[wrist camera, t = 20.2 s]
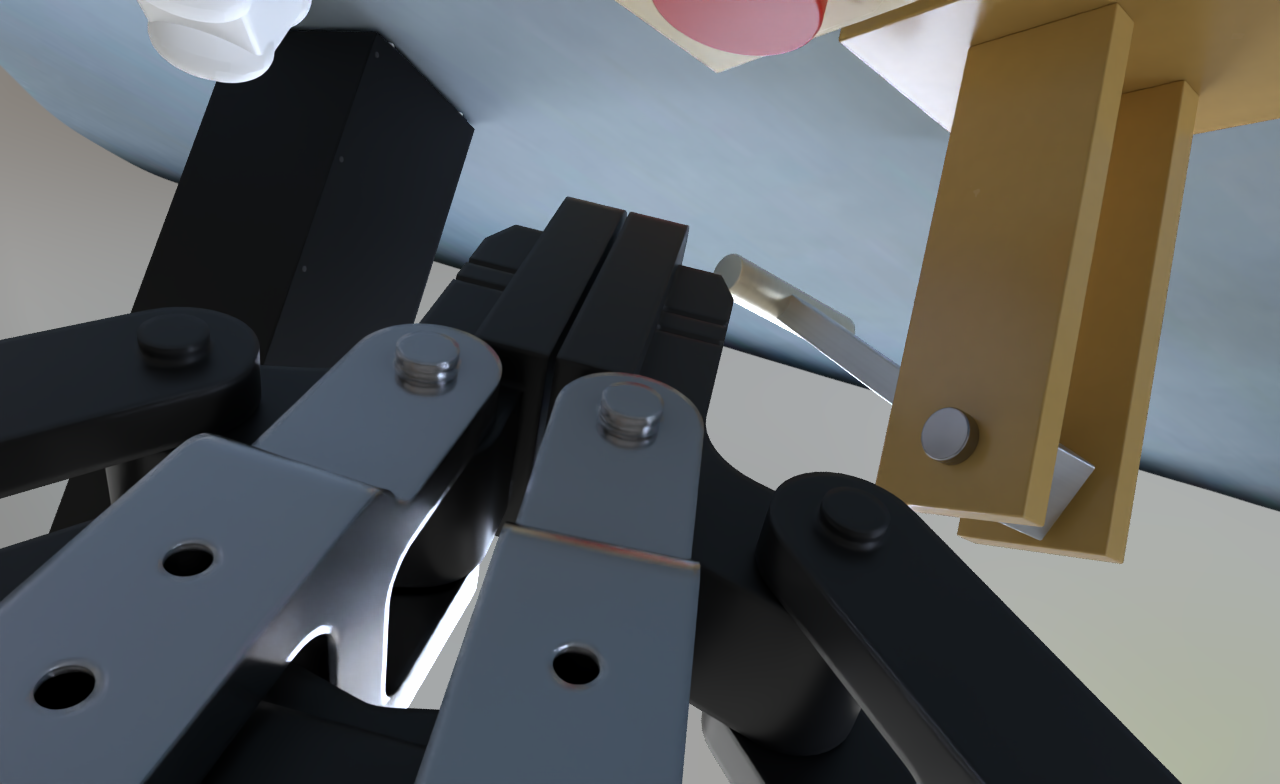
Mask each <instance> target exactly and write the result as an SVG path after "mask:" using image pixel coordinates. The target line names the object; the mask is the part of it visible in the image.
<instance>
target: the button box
mask: <svg viewBox="0 0 1280 784" xmlns="http://www.w3.org/2000/svg"><path fill="white" fill-rule="evenodd" d="M615 1H616V2H618V3H619V4H620V5H622V6H623V7H625V8H626V9H627V10H629V11H630V12H632V13H633V14H634V15H636V16H637V17H639V18H640V19H641V20H643V21H644V22H646V23H647V24H648V25H650V26H651V27H653V28H654V29H656V30H657V31H658V32H660V33H661V34H663V35H664V36H665V37H667V38H668V39H670V40H671V41H672V42H674V43H675V44H677V45H678V46H679V47H681V48H682V49H684V50H685V51H686V52H688V53H689V54H691V55H692V56H693V57H695V58H696V59H698V60H699V61H700V62H702V63H703V64H705V65H706V66H707V67H709V68H710V69H712V70H713V71H714V72H716V73H719V72H722V71H725V70H728V69H730V68H733V67H736V66H739V65H741V64H744V63H747V62H750V61H753V60H755V59H758V58H761V57H764V56H748V55H739V54H733V53H729V52H724V51H721V50H717V49H714V48H711V47H709V46H706V45H703V44H701V43H699V42H697V41H695V40H693V39H691V38H689V37H687V36H686V35H684V34H683V33H681V32H680V31H678V30H677V29H675V28H674V27H673V26H672V25H670V24H669V23H668V22H667V21H666V20H665V19H664V18H663V16H662V15H661V14H660V13H659V12H658V10H657V8H656V7H655V5H654V3H653V1H652V0H615ZM915 1H918V0H828V2H827V6H826V10H825V14H824V18H823V22H822V25H821V27H820V29H819V31H818V32H817V34H816V35H815V36H814V37H813V38H816V37H819V36H821V35H824V34H827V33H830V32H833V31H835V30H838V29H841V28H844V27H846V26H849V25H852V24H855V23H857V22H860V21H863V20H866V19H868V18H871V17H874V16H877V15H879V14H882V13H885V12H888V11H890V10H893V9H896V8H899V7H902V6H904V5H907V4H910V3H913V2H915Z"/></svg>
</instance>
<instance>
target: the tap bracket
mask: <svg viewBox="0 0 1280 784" xmlns="http://www.w3.org/2000/svg"><path fill="white" fill-rule="evenodd" d="M839 42H840V43H841V44H842V45H844V46H845V47H846V48H847V49H848V50H850V51H851V52H852V53H853V54H855V55H856V56H857V57H858V58H859V59H861V60H862V61H863V62H864V63H866V64H867V65H868V66H869V67H870V68H872V69H873V70H874V71H875V72H876V73H878V74H879V75H880V76H881V77H883V78H884V79H885V80H886V81H887V82H889V83H890V84H891V85H892V86H893V87H895V88H896V89H897V90H898V91H900V92H901V93H902V94H903V95H904V96H906V97H907V98H908V99H909V100H911V101H912V102H913V103H914V104H915V105H917V106H918V107H919V108H920V109H921V110H923V111H924V112H925V113H926V114H928V115H929V116H930V117H931V118H932V119H934V120H935V121H936V122H937V123H939V124H940V125H941V126H942V127H943V128H945V129H946V130H947V131H948V132H949V133H950V138H949V142H948V147H947V152H946V156H945V161H944V166H943V170H942V175H941V180H940V184H939V189H938V194H937V198H936V203H935V208H934V212H933V217H932V222H931V226H930V231H929V236H928V241H927V245H926V250H925V255H924V259H923V264H922V269H921V273H920V278H919V283H918V287H917V292H916V297H915V301H914V306H913V311H912V315H911V320H910V325H909V329H908V334H907V339H906V343H905V348H904V353H903V357H902V362H901V367H900V371H899V376H898V381H897V385H896V390H895V395H894V399H893V404H892V409H891V414H890V418H889V423H888V428H887V432H886V437H885V442H884V446H883V451H882V456H881V461H880V465H879V470H878V474H877V479H876V485H878V486H880V487H882V488H884V489H885V490H887V491H889V492H891V493H892V494H894V495H895V496H896V497H898V498H899V499H901V500H902V501H903V502H904V503H906V504H907V505H908V506H909V507H910V508H911V509H912V510H913V511H914V512H918V513H928V514H936V515H943V516H952V517H960V522H959V528H958V532H957V535H958V536H959V537H961V538H964V539H966V540H969V541H971V542H973V543H977V544H984V545H991V546H998V547H1005V548H1012V549H1019V550H1027V551H1034V552H1041V553H1047V554H1055V555H1062V556H1069V557H1076V558H1083V559H1091V560H1098V561H1105V562H1112V563H1119V564H1122V563H1123V561H1124V555H1125V549H1126V543H1127V537H1128V531H1129V524H1130V518H1131V512H1132V506H1133V500H1134V493H1135V487H1136V482H1137V475H1138V469H1139V463H1140V457H1141V451H1142V445H1143V439H1144V432H1145V426H1146V420H1147V414H1148V408H1149V402H1150V396H1151V389H1152V383H1153V377H1154V371H1155V365H1156V359H1157V353H1158V346H1159V340H1160V334H1161V328H1162V322H1163V316H1164V310H1165V303H1166V297H1167V291H1168V285H1169V279H1170V273H1171V267H1172V260H1173V254H1174V248H1175V242H1176V236H1177V230H1178V224H1179V217H1180V211H1181V205H1182V199H1183V193H1184V187H1185V181H1186V174H1187V168H1188V162H1189V156H1190V150H1191V144H1192V138H1193V134H1199V133H1204V132H1209V131H1215V130H1220V129H1225V128H1231V127H1236V126H1241V125H1247V124H1252V123H1257V122H1262V121H1268V120H1273V119H1278V118H1280V0H918V1H915V2H913V3H910V4H907V5H904V6H902V7H899V8H896V9H893V10H890V11H888V12H885V13H882V14H879V15H877V16H874V17H871V18H868V19H866V20H863V21H860V22H857V23H855V24H852V25H849V26H846V27H844V28H841V32H840V36H839ZM1059 443H1060V444H1062V445H1063V446H1065V447H1067V448H1068V449H1070V450H1071V451H1073V452H1074V453H1076V454H1077V455H1079V456H1080V457H1082V458H1083V459H1085V460H1086V461H1088V462H1089V463H1091V464H1092V465H1094V467H1095V469H1094V470H1093V472H1092V473H1091V474H1090V476H1089V477H1088V478H1087V480H1086V481H1085V482H1084V484H1083V485H1082V487H1081V488H1080V489H1079V491H1078V492H1077V493H1076V495H1075V496H1074V497H1073V499H1072V500H1071V501H1070V503H1069V504H1068V505H1067V507H1066V508H1065V509H1064V511H1063V512H1062V514H1061V515H1060V516H1059V518H1058V519H1057V520H1056V522H1055V523H1054V524H1053V526H1052V527H1051V528H1050V530H1049V531H1048V532H1047V534H1046V535H1045V536H1044V538H1043V539H1042V540H1037V539H1035V538H1033V537H1031V536H1028V535H1026V534H1024V533H1022V532H1019V531H1017V530H1015V529H1013V528H1010V527H1008V526H1006V525H1004V524H1001V523H999V522H1002V523H1011V524H1019V525H1028V526H1036V527H1043V526H1044V524H1045V518H1046V513H1047V507H1048V502H1049V496H1050V491H1051V485H1052V479H1053V474H1054V468H1055V463H1056V457H1057V452H1058V446H1059Z"/></svg>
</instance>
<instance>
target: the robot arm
mask: <svg viewBox="0 0 1280 784" xmlns="http://www.w3.org/2000/svg"><path fill="white" fill-rule="evenodd" d="M688 232H689V226H688V225H683V224H679V223H675V222H671V221H667V220H663V219H659V218H655V217H651V216H647V215H642V214H638V213H634V212H630V213H629V215H628V217H627V212H626V211H625V210H621V209H617V208H613V207H609V206H605V205H601V204H597V203H593V202H588V201H584V200H580V199H576V198H572V197H566V198H565V200H564V201H563V203H562V204H561V205H560V207H559V208H558V210H557V211H556V213H555V214H554V216H553V217H552V219H551V220H550V222H549V223H548V225H547V226H546V228H545V229H544V231H539V230H535V229H531V228H527V227H523V226H519V225H514V226H511V227H509V228H507V229H505V230H502V231H500V232H498V233H496V234H493V235H491V236H489V237H487V238H485V239H484V240H483V242H482V243H481V244H480V245H479V247H478V248H477V249H476V251H475V252H474V253H473V254H472V256H471V257H470V258H469V263H468V262H466V263H465V265H464V266H463V267H462V269H461V270H460V271H459V272H458V274H457V276H456V280H455V279H453V280H452V281H451V283H450V284H449V285H448V287H447V288H446V289H445V290H444V292H443V293H442V294H441V296H440V297H439V298H438V300H437V301H436V302H435V303H434V305H433V306H432V307H431V308H430V310H429V311H428V312H427V314H426V315H425V316H424V318H423V319H422V320H421V322H420V323H418V324H403V325H396V326H391V327H387V328H384V329H381V330H378V331H375V332H373V333H371V334H369V335H368V336H366V337H364V338H363V339H362V340H361V341H359V342H358V343H357V344H356V345H355V346H354V347H353V348H352V349H351V350H350V351H349V352H348V353H347V354H346V355H345V356H343V357H342V358H341V359H340V360H339V361H338V362H337V363H336V364H335V365H334V366H333V367H332V368H307V367H289V366H270V365H260V349H259V341H258V338H257V336H256V334H255V333H254V331H253V330H252V329H251V328H250V327H249V326H248V325H246V324H245V323H244V322H242V321H240V320H239V319H237V318H235V317H232V316H230V315H228V314H225V313H221V312H218V311H214V310H209V309H203V308H193V307H166V308H157V309H150V310H144V311H140V312H135V313H130V314H125V315H120V316H115V317H111V318H105V319H101V320H97V321H91V322H86V323H81V324H76V325H72V326H67V327H62V328H57V329H52V330H47V331H42V332H37V333H32V334H28V335H23V336H18V337H13V338H8V339H4V340H0V499H1V498H4V497H7V496H11V495H14V494H18V493H21V492H25V491H28V490H31V489H35V488H38V487H42V486H45V485H49V484H52V483H56V482H59V481H63V480H66V479H69V478H73V477H76V476H80V475H83V474H87V473H90V472H93V471H97V470H100V469H104V468H105V469H106V475H107V481H108V488H109V494H110V500H111V506H110V507H108V508H107V509H106V510H105V511H104V512H103V513H102V514H100V515H99V516H98V517H97V518H96V519H93V520H90V521H86V522H83V523H80V524H77V525H74V526H71V527H68V528H64V529H61V530H58V531H55V532H52V533H49V534H46V535H43V536H39V537H36V538H33V539H30V540H27V541H24V542H20V543H17V544H14V545H11V546H8V547H5V548H2V549H0V784H682V777H683V765H684V754H685V743H686V731H687V720H688V709H689V708H688V707H689V703H690V704H692V705H693V706H695V707H696V708H698V709H700V710H701V711H702V731H703V734H704V737H705V741H706V743H707V745H708V747H709V749H710V751H711V753H712V754H713V756H714V758H715V759H716V761H717V762H718V764H719V766H720V767H721V769H722V770H723V772H724V774H725V775H726V777H727V778H728V780H729V782H730V784H1182V783H1181V782H1180V781H1179V780H1178V779H1177V778H1176V777H1175V776H1174V775H1173V774H1172V773H1171V772H1170V771H1169V770H1168V769H1167V768H1166V767H1165V766H1164V765H1163V764H1162V763H1161V762H1160V761H1159V760H1158V759H1157V758H1156V757H1155V756H1154V755H1153V754H1152V753H1151V752H1150V751H1149V750H1148V749H1147V748H1146V747H1145V746H1144V745H1143V744H1142V743H1141V742H1140V741H1139V740H1138V739H1137V738H1136V737H1135V736H1134V735H1133V734H1132V733H1131V732H1130V731H1129V729H1127V727H1126V726H1124V724H1122V722H1121V721H1120V720H1119V719H1118V718H1117V717H1116V716H1115V715H1114V714H1113V713H1112V712H1111V711H1110V710H1109V709H1108V708H1107V707H1106V706H1105V705H1104V704H1103V703H1102V702H1101V701H1100V700H1099V699H1098V698H1097V697H1096V696H1095V695H1094V694H1093V693H1092V692H1091V691H1090V690H1089V689H1088V688H1087V687H1086V686H1085V685H1084V684H1083V683H1082V682H1081V681H1080V680H1079V679H1078V678H1077V677H1076V676H1075V675H1074V674H1073V673H1072V672H1071V671H1070V670H1069V668H1067V666H1065V664H1064V663H1063V662H1062V661H1061V660H1060V659H1059V658H1058V657H1057V656H1056V655H1055V654H1054V653H1053V652H1052V651H1051V650H1050V649H1049V648H1048V647H1047V646H1046V645H1045V644H1044V643H1043V642H1042V641H1041V640H1040V639H1039V638H1038V637H1037V636H1036V635H1035V634H1034V633H1033V632H1032V631H1031V630H1030V629H1029V628H1028V627H1027V626H1026V625H1025V624H1024V623H1023V622H1022V621H1021V620H1020V619H1019V618H1018V617H1017V616H1016V615H1015V614H1014V613H1013V612H1012V610H1010V608H1008V607H1007V606H1006V604H1004V602H1003V601H1001V599H1000V598H999V597H998V596H997V595H996V594H995V593H994V592H993V591H992V590H991V589H990V588H989V587H988V586H987V585H986V584H985V583H984V582H983V581H982V580H981V579H980V578H979V577H978V576H977V575H976V574H975V573H974V572H973V571H972V570H971V569H970V568H969V567H968V566H967V565H966V564H965V563H964V562H963V561H962V560H961V559H960V558H959V557H958V556H957V555H956V554H955V553H954V552H953V550H952V549H951V548H949V546H948V545H947V544H946V543H945V542H944V541H943V540H942V539H941V538H940V537H939V536H938V535H937V534H936V533H935V532H934V531H933V530H932V529H931V528H930V527H929V526H928V525H927V524H926V523H925V522H924V521H923V520H922V519H921V518H920V517H919V516H918V515H917V514H916V513H915V512H914V511H913V510H912V509H911V508H910V507H909V506H908V505H907V504H906V503H904V502H903V501H902V500H901V499H899V498H898V497H896V496H895V495H894V494H892V493H891V492H889V491H887V490H885V489H884V488H882V487H880V486H878V485H876V484H873V483H871V482H869V481H866V480H863V479H860V478H857V477H854V476H850V475H845V474H841V473H832V472H812V473H805V474H801V475H797V476H794V477H792V478H790V479H788V480H786V481H785V482H784V483H782V484H781V485H780V486H779V487H778V488H777V490H776V491H774V490H772V489H770V488H768V487H766V486H764V485H762V484H760V483H758V482H756V481H754V480H752V479H751V478H749V477H747V476H745V475H743V474H742V473H740V472H739V471H738V470H736V469H735V468H734V467H732V466H731V465H730V464H729V463H728V462H727V461H725V460H724V459H723V458H722V456H721V455H720V454H719V453H718V452H717V451H716V449H715V448H714V446H713V445H712V443H711V441H710V439H709V436H708V434H707V430H706V416H707V412H708V408H709V403H710V399H711V395H712V390H713V386H714V382H715V378H716V374H717V369H718V365H719V361H720V357H721V353H722V348H723V344H724V340H725V336H726V332H727V327H728V323H729V319H730V315H731V311H732V306H733V302H734V298H733V296H732V294H731V292H730V291H729V289H728V287H727V285H726V283H725V281H724V279H723V277H722V275H719V274H715V273H711V272H706V271H702V270H698V269H694V268H690V267H686V266H682V261H683V257H684V252H685V247H686V243H687V238H688ZM494 535H495V536H498V537H499V538H498V541H497V544H496V547H495V550H494V553H493V555H492V559H491V561H490V564H489V567H488V570H487V573H486V576H485V579H484V582H483V585H482V588H481V590H480V593H479V596H478V599H477V602H476V605H475V608H474V611H473V614H472V617H471V620H470V622H469V625H468V628H467V631H466V634H465V637H464V640H463V643H462V646H461V649H460V652H459V655H458V657H457V661H456V663H455V666H454V669H453V672H452V675H451V678H450V681H449V684H448V687H447V689H446V692H445V695H444V698H443V701H442V705H441V707H440V710H434V709H414V708H407V707H408V706H409V704H410V702H411V700H412V699H413V697H414V695H415V694H416V692H417V690H418V688H419V687H420V685H421V683H422V682H423V680H424V678H425V676H426V675H427V673H428V671H429V669H430V668H431V666H432V664H433V663H434V661H435V659H436V658H437V655H438V654H439V652H440V651H441V649H442V647H443V645H444V644H445V642H446V640H447V639H448V637H449V635H450V634H451V632H452V630H453V628H454V627H455V625H456V623H457V622H458V620H459V618H460V616H461V615H462V613H463V611H464V610H465V608H466V606H467V604H468V603H469V601H470V599H471V598H472V596H473V594H474V591H475V589H476V585H477V580H478V571H479V564H480V563H481V561H482V560H483V558H484V556H485V555H486V552H487V550H488V548H489V546H490V544H491V542H492V539H493V538H494Z"/></svg>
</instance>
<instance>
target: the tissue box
mask: <svg viewBox="0 0 1280 784" xmlns="http://www.w3.org/2000/svg"><path fill="white" fill-rule="evenodd" d="M394 47H395V46H394V44H392V43H390V42H388V41H385V40H384V39H383V38H382V37H381V36H380V35H379V34H378V33H376V32H330V31H288V32H287V34H286V35H285V37H284V38H283V40H282V41H281V43H280V44H279V45H278V47H277V48H276V50H275V51H274V59H273V62H272V64H271V65H270V67H269V68H268V70H267V71H266V72H265V73H264V74H262V75H261V76H259V77H257V78H255V79H253V80H249V81H246V82H240V83H225V82H218V81H216V84H215V87H214V89H213V92H212V95H211V98H210V100H209V103H208V106H207V108H206V111H205V114H204V116H203V119H202V122H201V125H200V127H199V130H198V133H197V135H196V138H195V141H194V143H193V146H192V149H191V151H190V154H189V157H188V160H187V162H186V165H185V168H184V170H183V173H182V176H181V178H180V181H179V184H178V187H177V189H176V192H175V195H174V198H173V200H172V203H171V205H170V208H169V211H168V214H167V216H166V219H165V222H164V224H163V227H162V230H161V232H160V235H159V238H158V240H157V243H156V246H155V249H154V251H153V254H152V257H151V260H150V262H149V265H148V268H147V270H146V273H145V276H144V278H143V281H142V284H141V286H140V289H139V292H138V295H137V297H136V300H135V303H134V306H133V308H132V311H131V313H135V312H140V311H144V310H150V309H157V308H166V307H193V308H203V309H209V310H214V311H218V312H221V313H225V314H228V315H230V316H232V317H235V318H237V319H239V320H240V321H242V322H244V323H245V324H246V325H248V326H249V327H250V328H251V329H252V330H253V331H254V333H255V334H256V336H257V338H258V341H259V349H260V365H270V366H289V367H307V368H332V367H333V366H334V365H335V364H336V363H337V362H338V361H339V360H340V359H341V358H342V357H343V356H345V355H346V354H347V353H348V352H349V351H350V350H351V349H352V348H353V347H354V346H355V345H356V344H357V343H358V342H359V341H361V340H362V339H363V338H364V337H366V336H368V335H369V334H371V333H373V332H375V331H378V330H381V329H384V328H387V327H391V326H396V325H403V324H414V321H415V318H416V314H417V312H418V308H419V305H420V302H421V299H422V295H423V292H424V289H425V286H426V283H427V280H428V276H429V273H430V270H431V267H432V264H433V260H434V257H435V254H436V251H437V248H438V245H439V241H440V238H441V235H442V232H443V229H444V225H445V222H446V219H447V216H448V213H449V209H450V206H451V203H452V200H453V197H454V193H455V190H456V187H457V184H458V181H459V177H460V174H461V171H462V168H463V165H464V161H465V158H466V155H467V152H468V149H469V146H470V142H471V139H472V136H473V133H474V130H475V129H474V128H473V127H472V126H471V125H470V124H469V123H468V122H467V120H466V119H465V118H464V117H463V116H462V115H463V114H462V113H461V112H459V111H457V110H456V109H455V108H454V107H453V106H452V105H451V104H450V103H449V102H448V101H447V100H446V99H445V98H444V97H443V96H442V95H441V94H440V93H439V92H438V91H437V90H436V89H435V88H434V87H433V86H432V85H431V84H430V83H429V82H428V81H427V80H426V79H425V78H424V77H423V76H422V75H421V74H420V73H419V72H418V71H417V70H416V69H415V68H414V67H413V66H412V65H411V64H410V63H409V62H408V61H407V60H406V59H405V58H404V57H403V56H402V55H401V54H400V53H399V52H398V51H397V50H396V49H395V48H394ZM110 506H111V500H110V494H109V488H108V481H107V475H106V469H105V468H104V469H100V470H97V471H93V472H90V473H87V474H83V475H80V476H76V477H73V478H69V481H68V483H67V486H66V489H65V491H64V494H63V497H62V499H61V502H60V505H59V507H58V510H57V513H56V516H55V518H54V521H53V524H52V526H51V529H50V532H49V533H52V532H55V531H58V530H61V529H64V528H68V527H71V526H74V525H77V524H80V523H83V522H86V521H90V520H93V519H96V518H97V517H98V516H99V515H100V514H102V513H103V512H104V511H105V510H106V509H107V508H108V507H110Z"/></svg>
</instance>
